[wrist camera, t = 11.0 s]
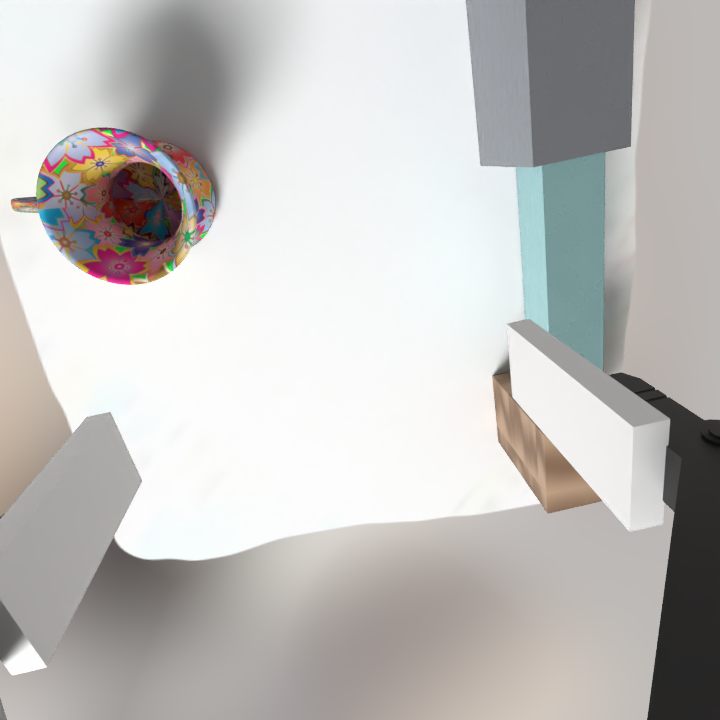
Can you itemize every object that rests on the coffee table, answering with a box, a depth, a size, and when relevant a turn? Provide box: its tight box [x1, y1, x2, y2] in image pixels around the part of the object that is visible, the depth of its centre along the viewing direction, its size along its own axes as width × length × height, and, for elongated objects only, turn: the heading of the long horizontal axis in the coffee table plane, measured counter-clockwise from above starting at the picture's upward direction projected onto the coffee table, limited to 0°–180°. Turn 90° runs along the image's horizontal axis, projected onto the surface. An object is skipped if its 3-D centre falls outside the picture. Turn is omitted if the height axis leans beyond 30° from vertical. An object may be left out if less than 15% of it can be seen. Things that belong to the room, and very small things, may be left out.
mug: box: [11, 128, 215, 285], centre depth 34 cm, size 12×9×11 cm
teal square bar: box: [516, 152, 605, 371], centre depth 39 cm, size 28×6×6 cm, turn 11°
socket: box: [492, 372, 602, 513], centre depth 45 cm, size 8×8×12 cm
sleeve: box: [466, 0, 635, 167], centre depth 33 cm, size 16×7×10 cm, turn 11°
